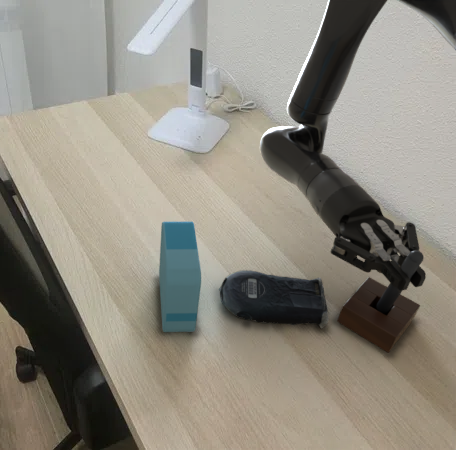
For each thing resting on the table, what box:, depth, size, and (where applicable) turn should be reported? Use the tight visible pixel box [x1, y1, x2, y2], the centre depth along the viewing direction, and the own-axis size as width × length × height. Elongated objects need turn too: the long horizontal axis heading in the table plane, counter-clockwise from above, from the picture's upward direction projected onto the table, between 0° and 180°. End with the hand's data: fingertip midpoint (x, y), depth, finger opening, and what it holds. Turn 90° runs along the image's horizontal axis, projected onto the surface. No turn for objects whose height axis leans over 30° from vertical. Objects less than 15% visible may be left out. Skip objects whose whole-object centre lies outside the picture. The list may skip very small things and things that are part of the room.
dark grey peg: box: [376, 250, 424, 313], centre depth 74 cm, size 2×2×13 cm
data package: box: [158, 221, 202, 333], centre depth 78 cm, size 12×4×12 cm, turn 2°
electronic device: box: [218, 269, 330, 329], centre depth 81 cm, size 9×6×15 cm
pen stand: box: [336, 276, 421, 353], centre depth 80 cm, size 8×8×4 cm
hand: (413, 283), depth 71 cm, fingers closed on dark grey peg, 2 cm apart
